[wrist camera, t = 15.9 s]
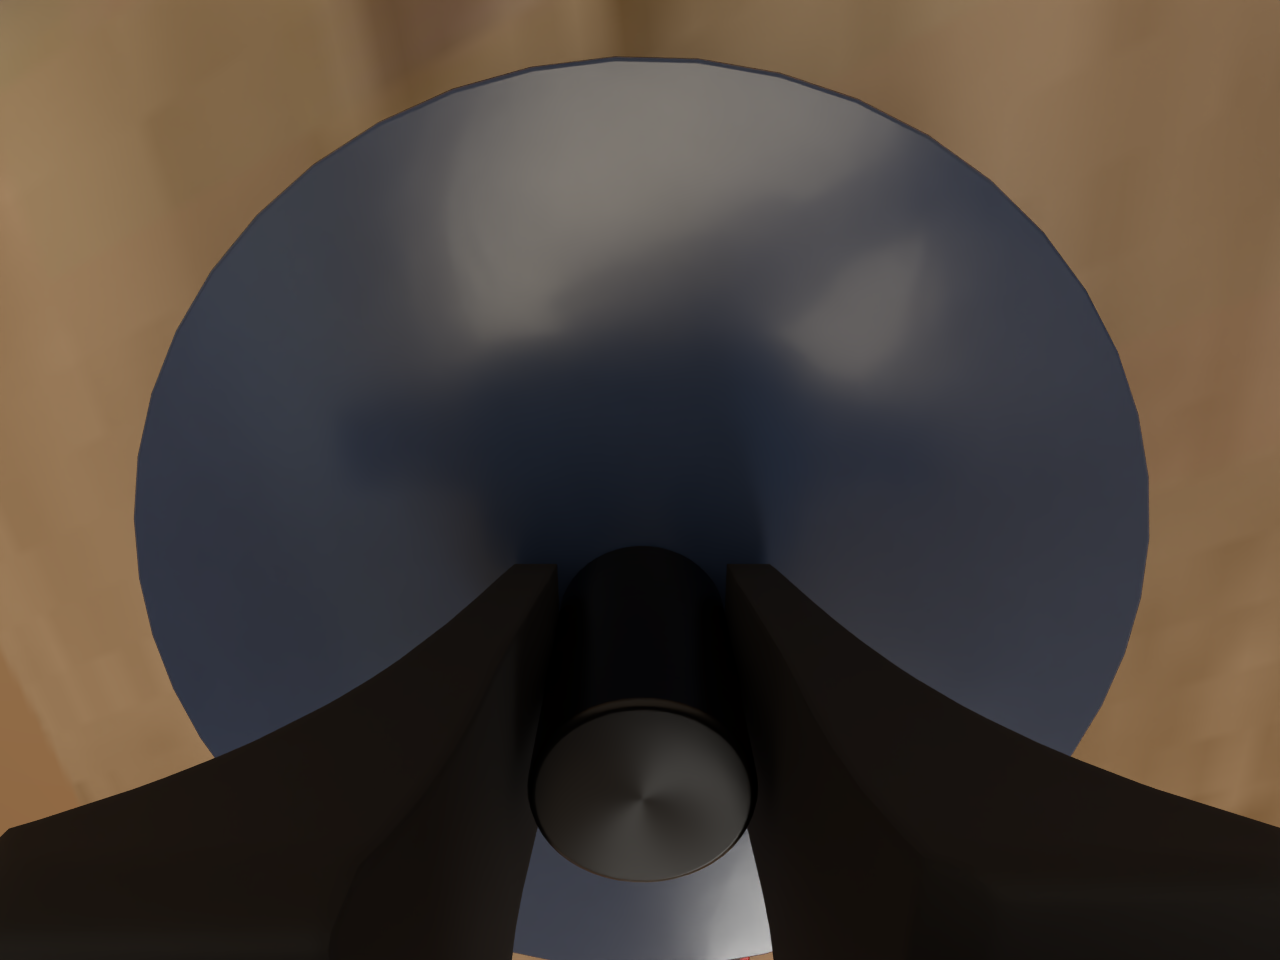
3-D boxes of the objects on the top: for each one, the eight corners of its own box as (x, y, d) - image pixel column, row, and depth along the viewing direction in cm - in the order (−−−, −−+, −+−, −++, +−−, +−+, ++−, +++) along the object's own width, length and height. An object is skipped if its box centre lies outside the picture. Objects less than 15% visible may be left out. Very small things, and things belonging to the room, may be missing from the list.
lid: (269, -128, 9) (-87, -438, 5) (1308, 304, 11) (1775, 384, 6) (123, 795, 14) (-119, 1078, 9) (855, 989, 16) (940, 1304, 11)
